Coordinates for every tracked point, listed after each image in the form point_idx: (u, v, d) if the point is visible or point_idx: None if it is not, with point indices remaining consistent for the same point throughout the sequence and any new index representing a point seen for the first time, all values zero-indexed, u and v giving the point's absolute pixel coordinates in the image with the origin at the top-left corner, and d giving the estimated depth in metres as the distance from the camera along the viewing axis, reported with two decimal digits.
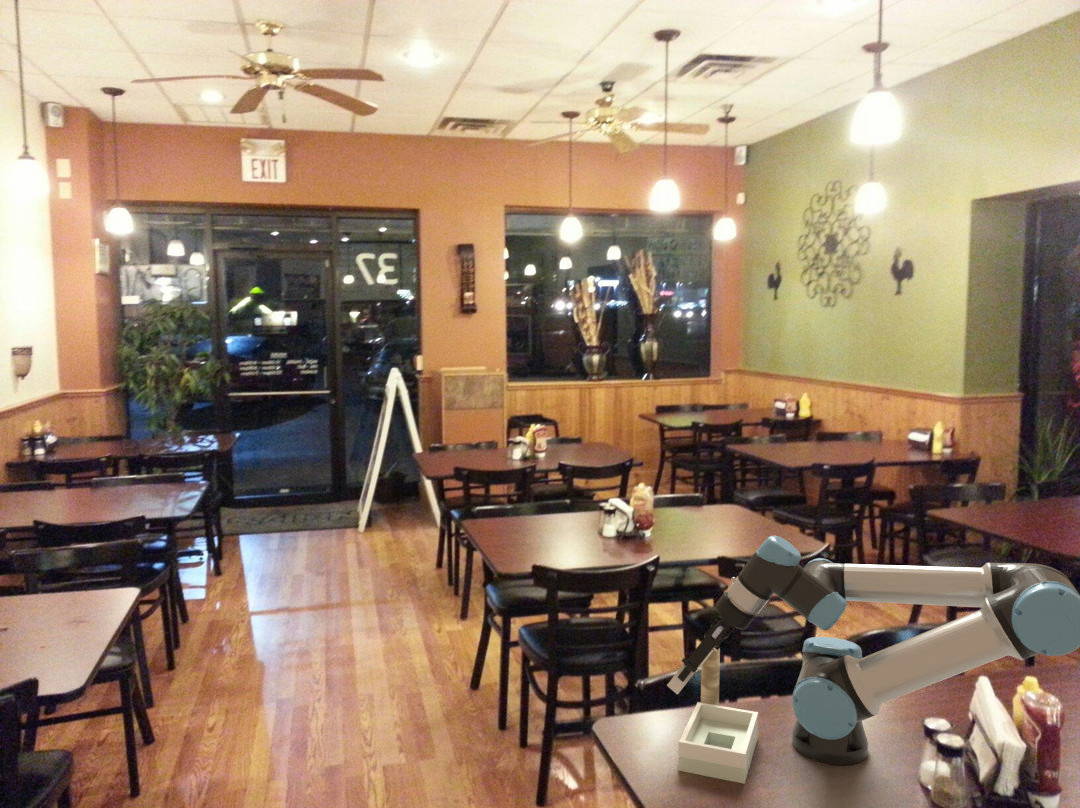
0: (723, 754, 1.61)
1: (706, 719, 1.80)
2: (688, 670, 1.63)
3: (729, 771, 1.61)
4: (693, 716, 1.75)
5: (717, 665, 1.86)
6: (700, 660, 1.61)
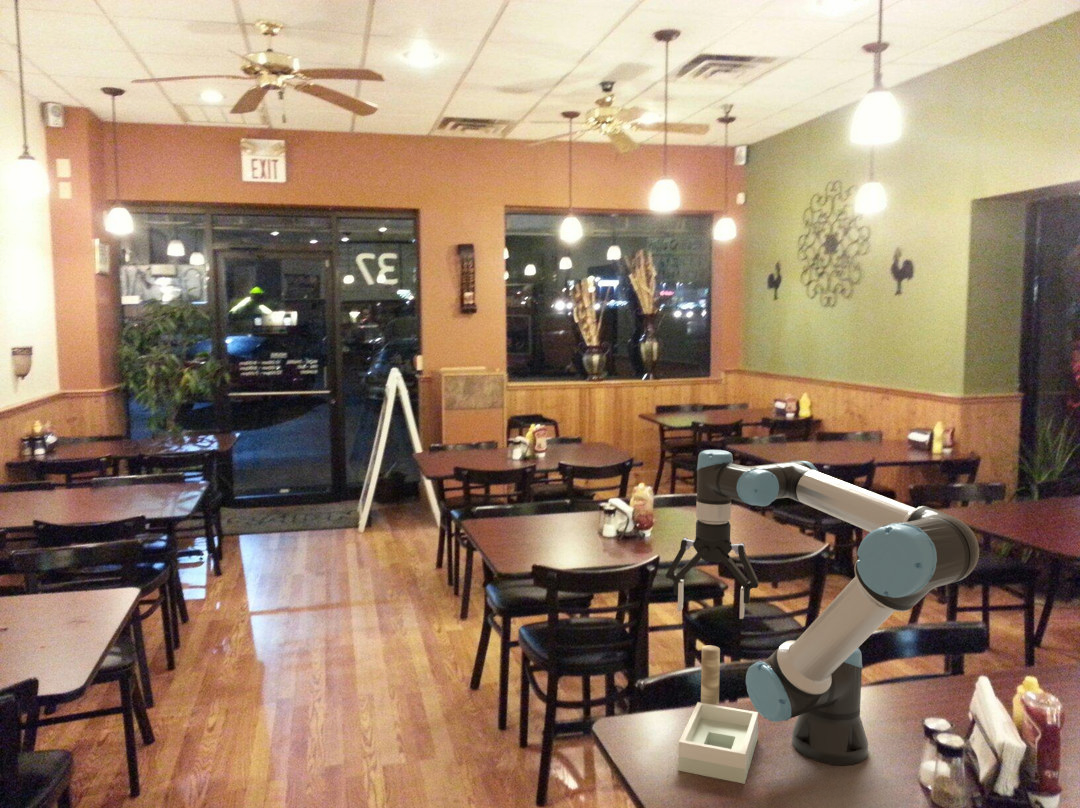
0: (723, 754, 1.61)
1: (706, 719, 1.80)
2: (674, 582, 1.87)
3: (729, 771, 1.61)
4: (693, 716, 1.75)
5: (717, 665, 1.86)
6: (670, 566, 1.86)
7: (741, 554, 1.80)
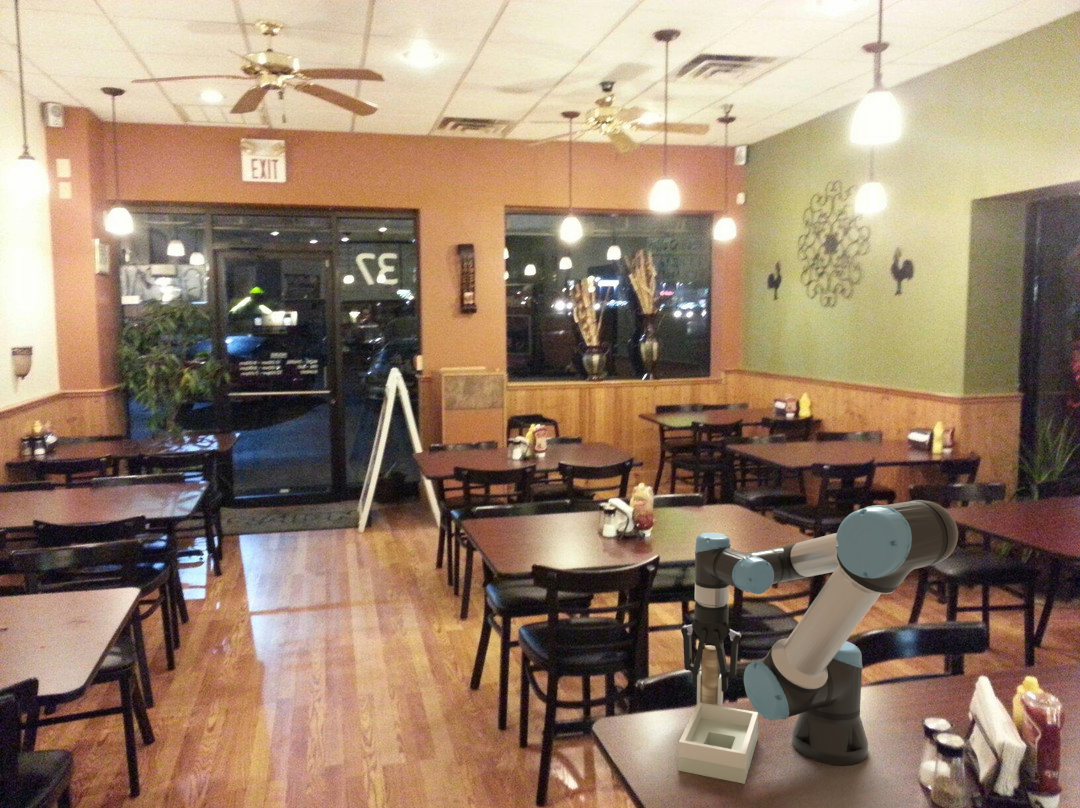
0: (723, 754, 1.61)
1: (706, 719, 1.80)
2: (693, 673, 1.89)
3: (729, 771, 1.61)
4: (693, 716, 1.75)
5: (717, 665, 1.86)
6: None
7: (734, 643, 1.83)
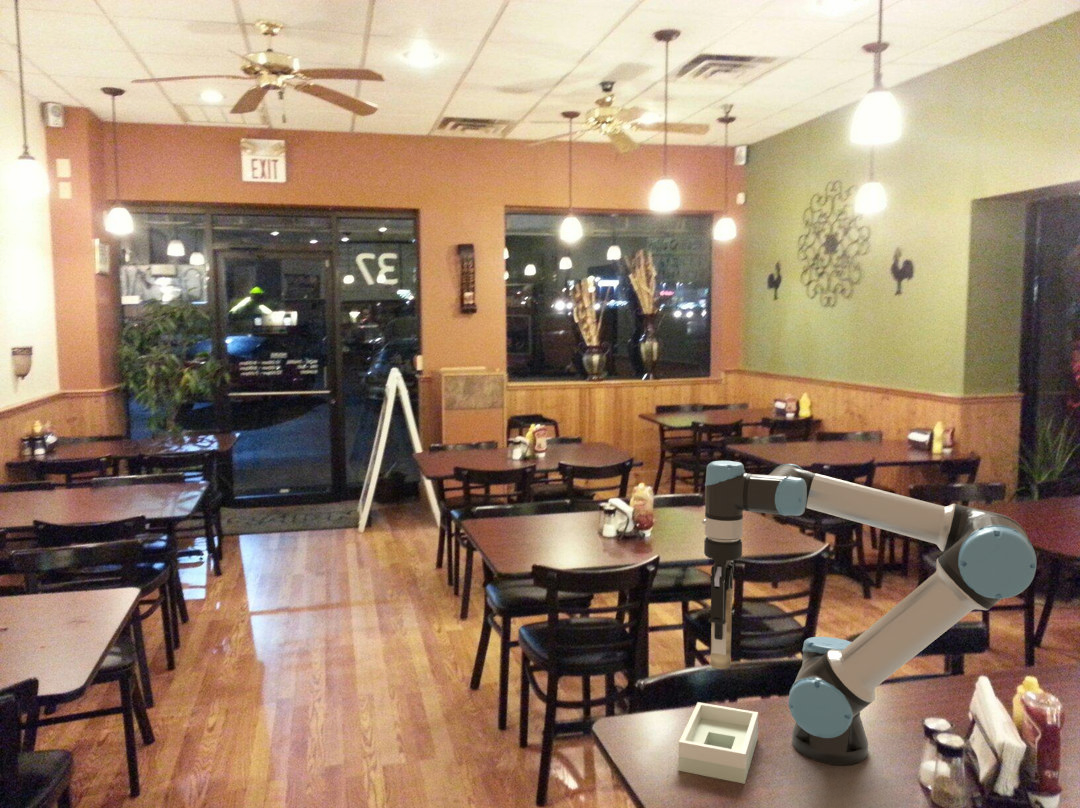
0: (723, 754, 1.61)
1: (706, 719, 1.80)
2: (719, 626, 1.66)
3: (729, 771, 1.61)
4: (693, 716, 1.75)
5: None
6: (721, 611, 1.63)
7: None
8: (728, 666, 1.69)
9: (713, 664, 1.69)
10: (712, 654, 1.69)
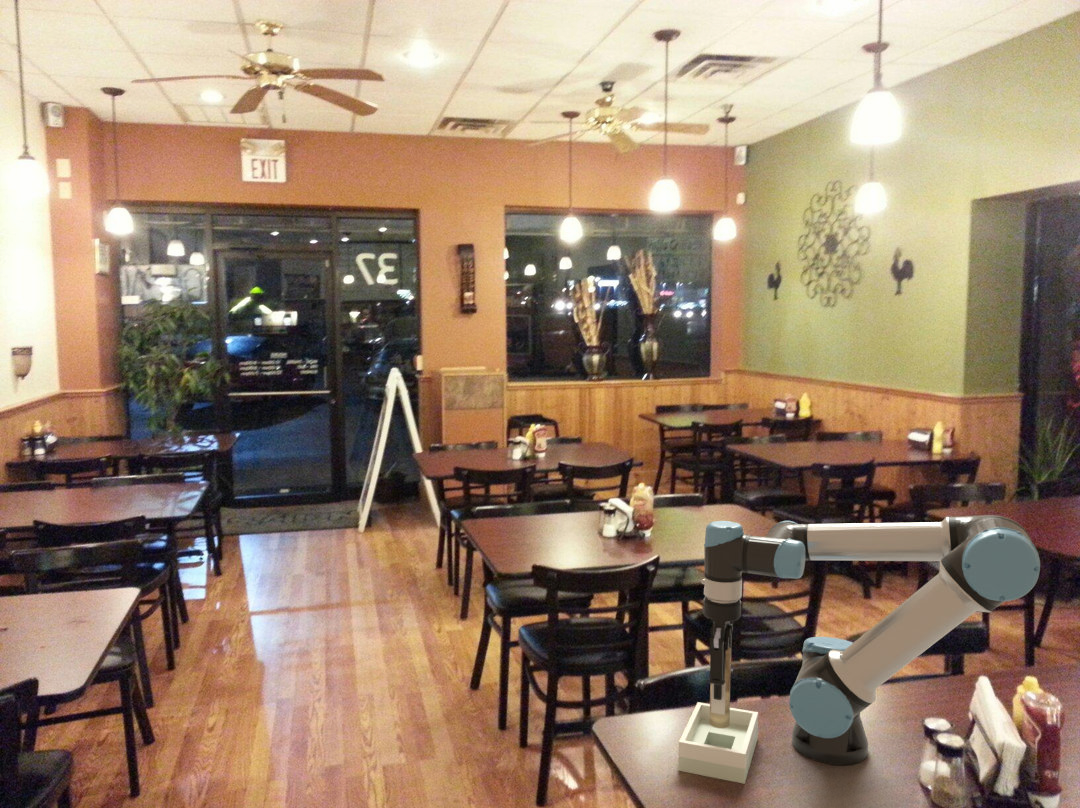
0: (723, 754, 1.61)
1: (706, 719, 1.80)
2: (718, 686, 1.66)
3: (729, 771, 1.61)
4: (693, 716, 1.75)
5: None
6: (720, 673, 1.64)
7: None
8: (727, 725, 1.70)
9: (712, 723, 1.70)
10: (711, 713, 1.70)
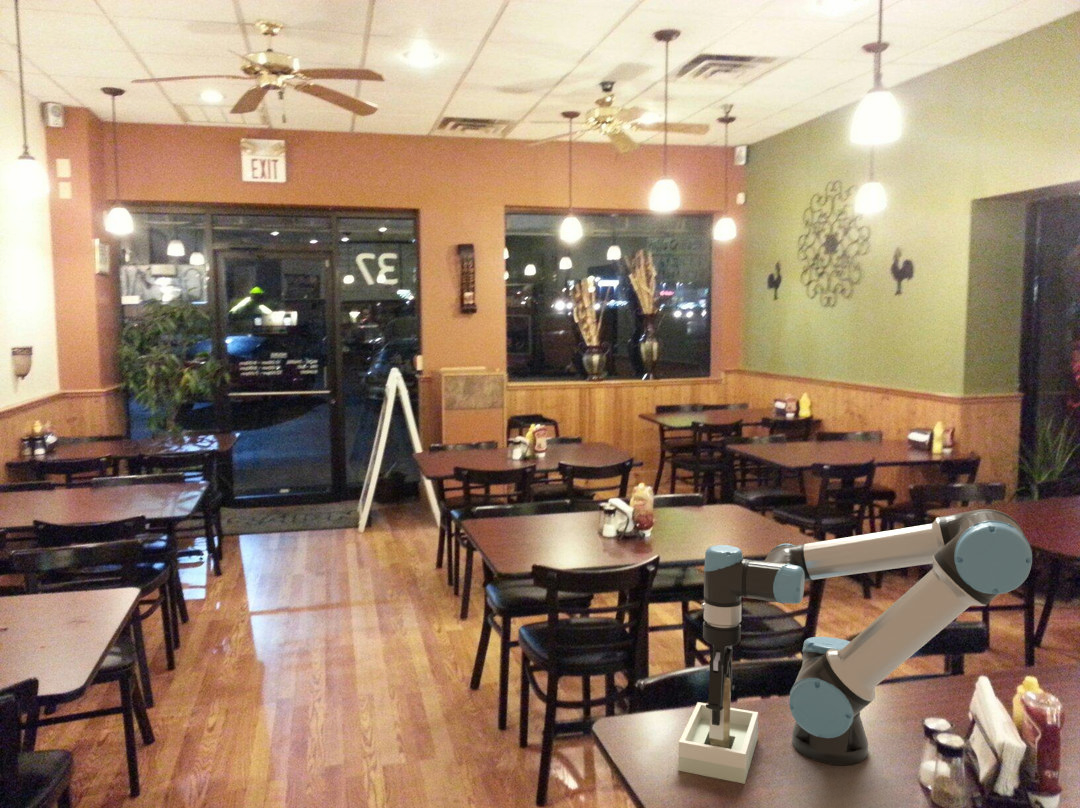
0: (723, 754, 1.61)
1: (706, 719, 1.80)
2: (716, 712, 1.65)
3: (729, 771, 1.61)
4: (693, 716, 1.75)
5: None
6: (718, 697, 1.63)
7: None
8: None
9: None
10: (711, 744, 1.71)
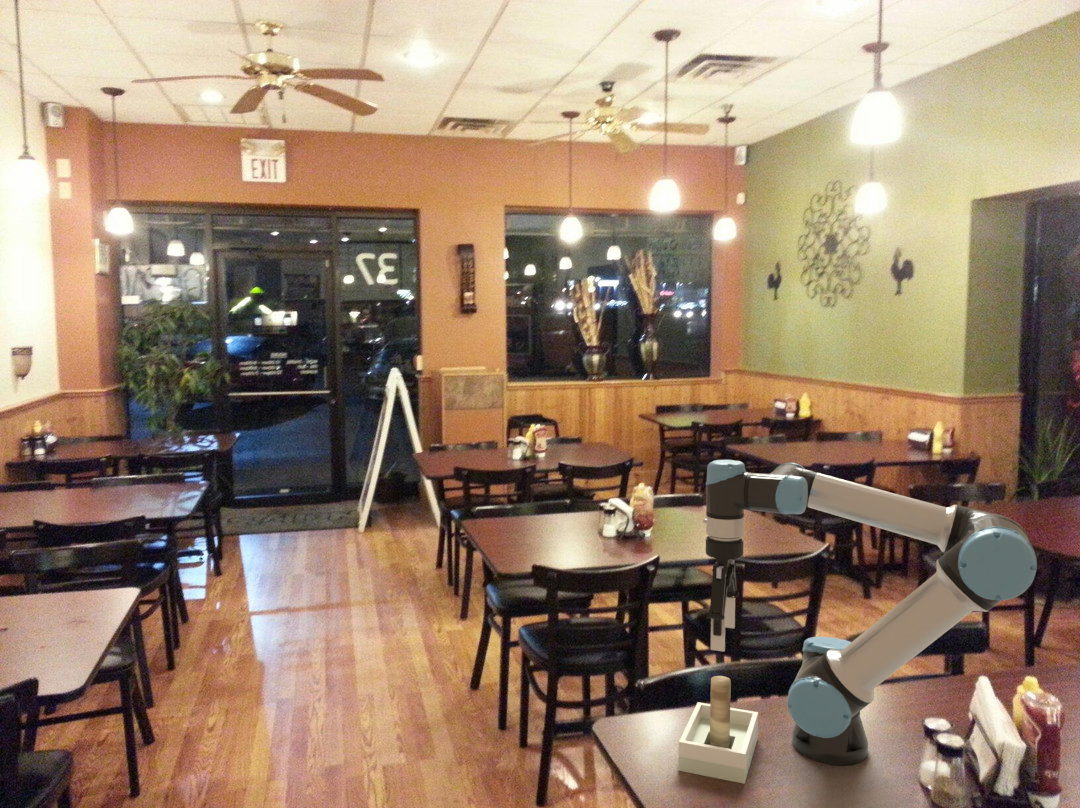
0: (723, 754, 1.61)
1: (706, 719, 1.80)
2: (717, 621, 1.61)
3: (729, 771, 1.61)
4: (693, 716, 1.75)
5: None
6: (720, 605, 1.60)
7: (734, 561, 1.74)
8: None
9: None
10: (711, 744, 1.71)
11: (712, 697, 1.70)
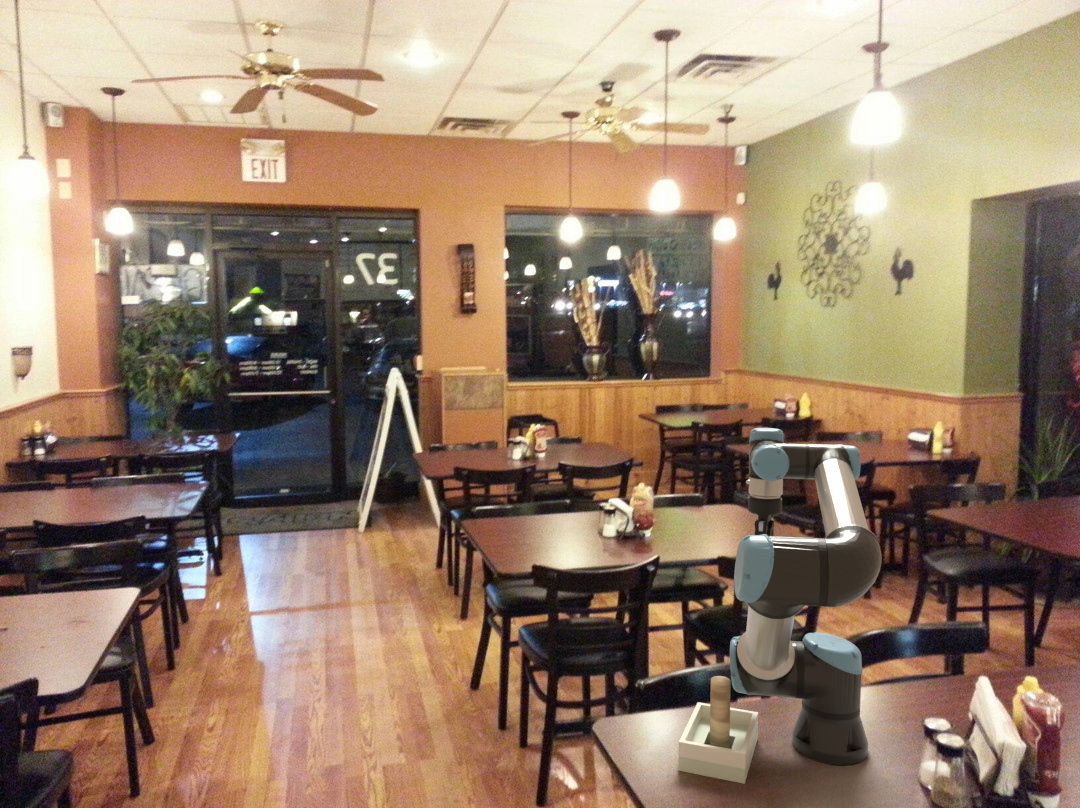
0: (723, 754, 1.61)
1: (706, 719, 1.80)
2: None
3: (729, 771, 1.61)
4: (693, 716, 1.75)
5: None
6: None
7: None
8: None
9: None
10: (711, 744, 1.71)
11: (712, 697, 1.70)
